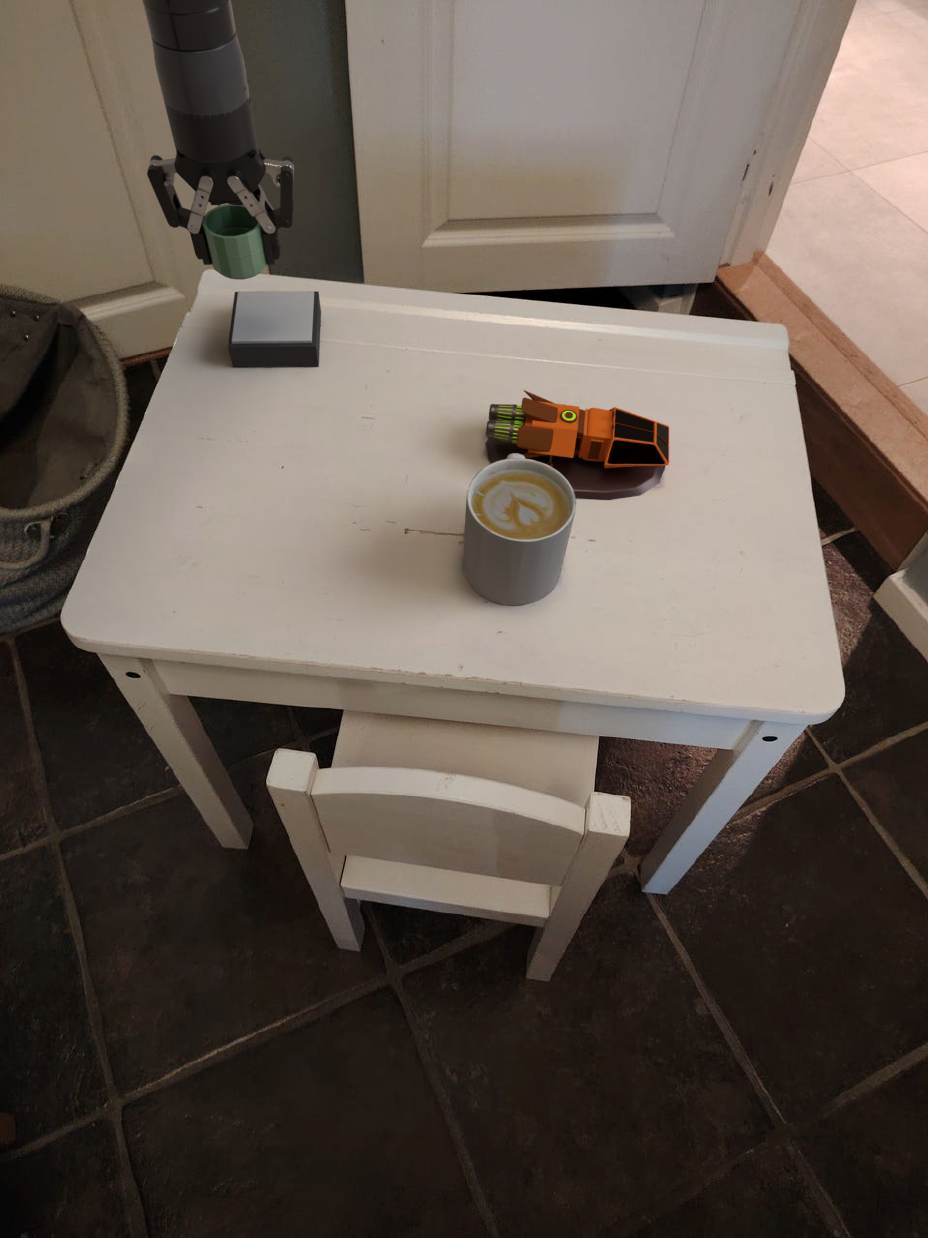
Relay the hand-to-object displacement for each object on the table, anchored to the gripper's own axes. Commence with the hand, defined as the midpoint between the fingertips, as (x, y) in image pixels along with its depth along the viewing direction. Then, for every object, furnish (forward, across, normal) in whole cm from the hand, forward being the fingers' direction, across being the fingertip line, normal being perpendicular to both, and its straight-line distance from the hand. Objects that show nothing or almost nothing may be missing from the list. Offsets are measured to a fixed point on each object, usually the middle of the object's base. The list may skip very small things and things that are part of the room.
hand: (240, 259), depth 88 cm
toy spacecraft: (+13, +35, -17) cm, 41 cm away
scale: (+13, +2, +3) cm, 13 cm away
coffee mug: (+13, +28, -30) cm, 42 cm away
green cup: (+1, 0, 0) cm, 1 cm away
